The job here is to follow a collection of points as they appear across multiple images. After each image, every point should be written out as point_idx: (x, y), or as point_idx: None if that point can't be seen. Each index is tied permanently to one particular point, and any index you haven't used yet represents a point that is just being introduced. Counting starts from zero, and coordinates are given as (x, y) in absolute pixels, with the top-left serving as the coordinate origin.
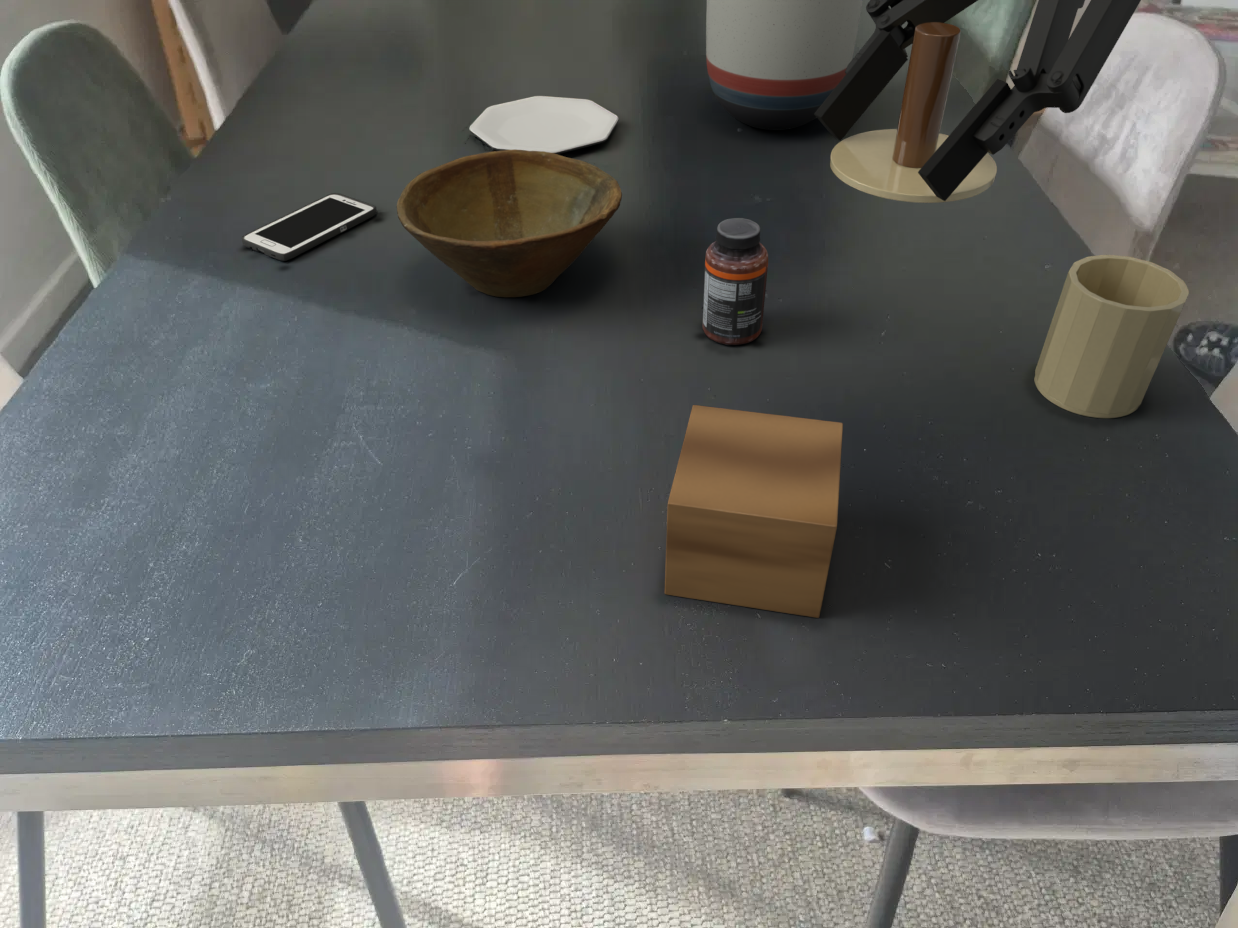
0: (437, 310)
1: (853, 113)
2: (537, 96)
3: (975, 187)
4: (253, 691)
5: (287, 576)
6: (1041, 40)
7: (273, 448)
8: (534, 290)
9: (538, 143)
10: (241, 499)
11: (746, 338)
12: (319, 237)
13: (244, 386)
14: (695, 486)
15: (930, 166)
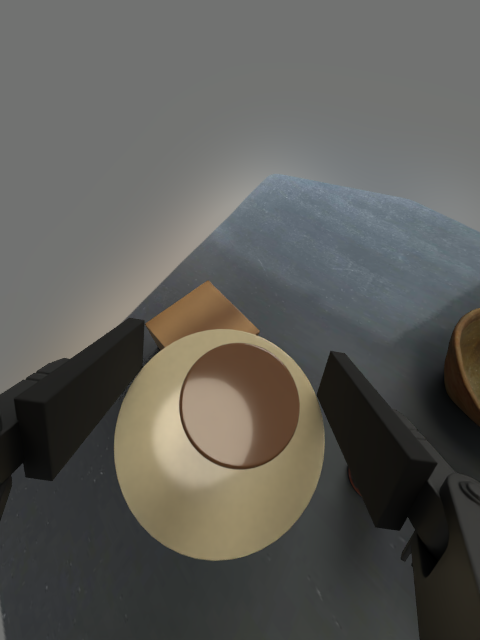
0: (441, 337)
1: (330, 405)
2: None
3: (119, 423)
4: (252, 208)
5: (290, 227)
6: None
7: (357, 246)
8: (445, 385)
9: None
10: (334, 230)
11: (349, 471)
12: None
13: (402, 252)
14: (208, 294)
15: (129, 322)
